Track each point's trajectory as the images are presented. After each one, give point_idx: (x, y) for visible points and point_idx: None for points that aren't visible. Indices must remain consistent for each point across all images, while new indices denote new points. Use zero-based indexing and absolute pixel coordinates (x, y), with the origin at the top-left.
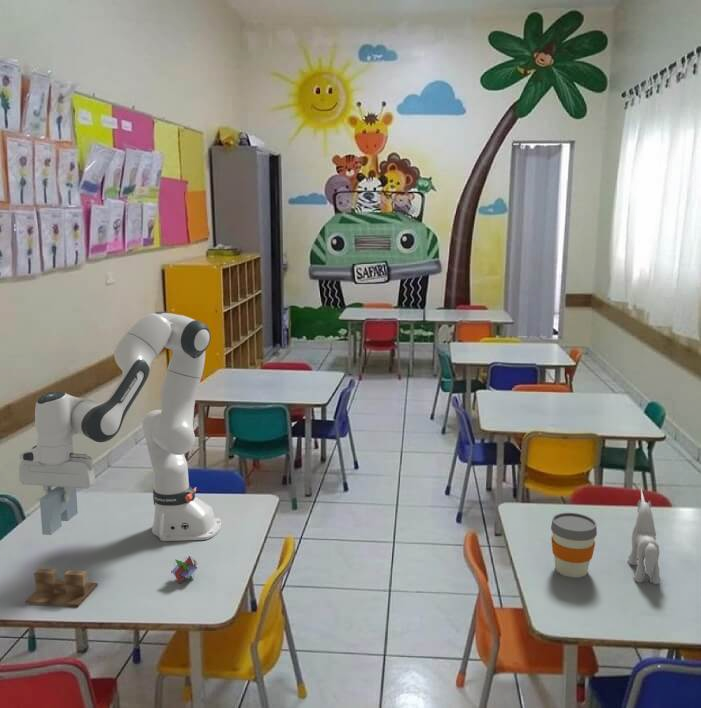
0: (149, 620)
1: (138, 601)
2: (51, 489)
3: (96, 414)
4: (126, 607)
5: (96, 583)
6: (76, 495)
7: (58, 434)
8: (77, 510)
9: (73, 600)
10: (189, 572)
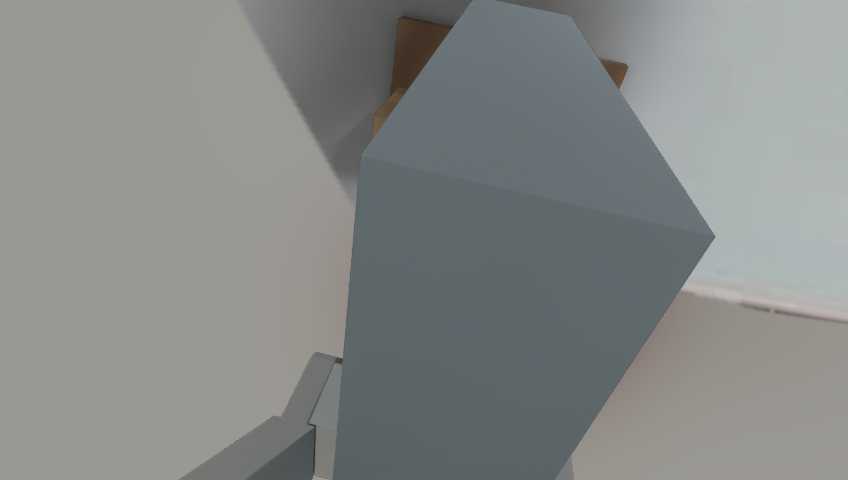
0: (815, 306)
1: (797, 202)
2: (262, 468)
3: None
4: (743, 231)
5: (623, 73)
6: (603, 70)
7: None
8: (573, 22)
9: None
10: None
